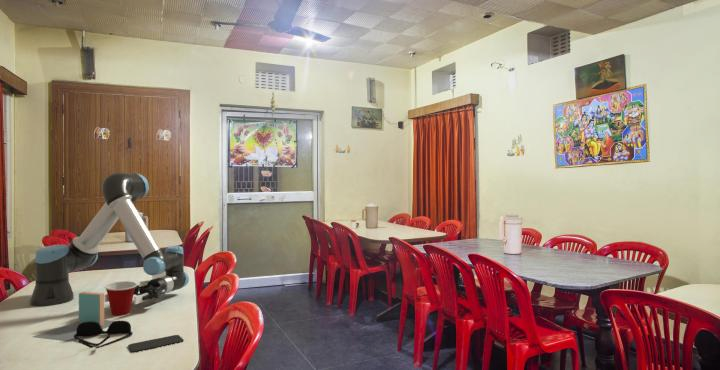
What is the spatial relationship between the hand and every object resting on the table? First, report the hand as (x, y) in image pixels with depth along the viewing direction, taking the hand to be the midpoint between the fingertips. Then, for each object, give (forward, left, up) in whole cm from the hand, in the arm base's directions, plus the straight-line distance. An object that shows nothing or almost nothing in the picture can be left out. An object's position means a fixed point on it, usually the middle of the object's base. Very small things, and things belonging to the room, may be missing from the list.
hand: (119, 299), depth 162 cm
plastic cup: (0, +1, -7) cm, 7 cm away
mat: (0, -17, -6) cm, 18 cm away
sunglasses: (+16, -25, -6) cm, 30 cm away
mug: (-25, +55, -7) cm, 61 cm away
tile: (0, -12, -6) cm, 13 cm away
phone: (+34, -20, -7) cm, 40 cm away
